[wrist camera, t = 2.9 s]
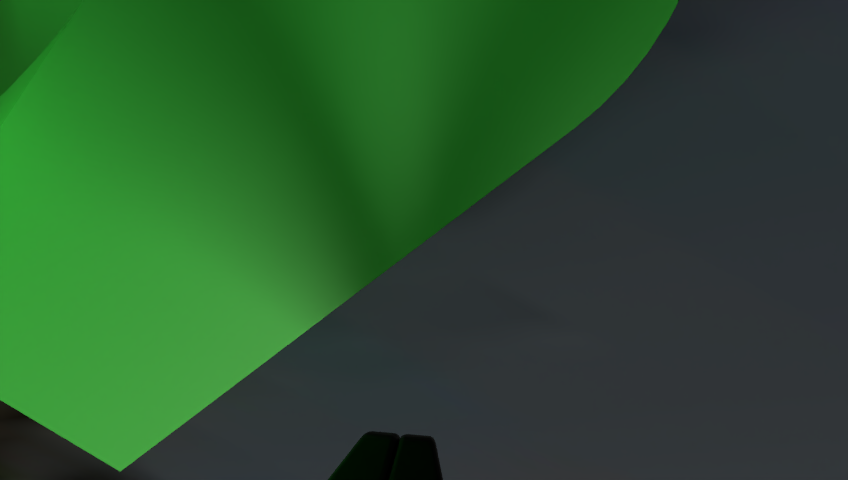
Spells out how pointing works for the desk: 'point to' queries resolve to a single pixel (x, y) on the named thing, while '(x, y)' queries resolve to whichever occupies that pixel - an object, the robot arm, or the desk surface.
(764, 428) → the desk surface
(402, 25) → the mechanical part
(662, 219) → the desk surface
